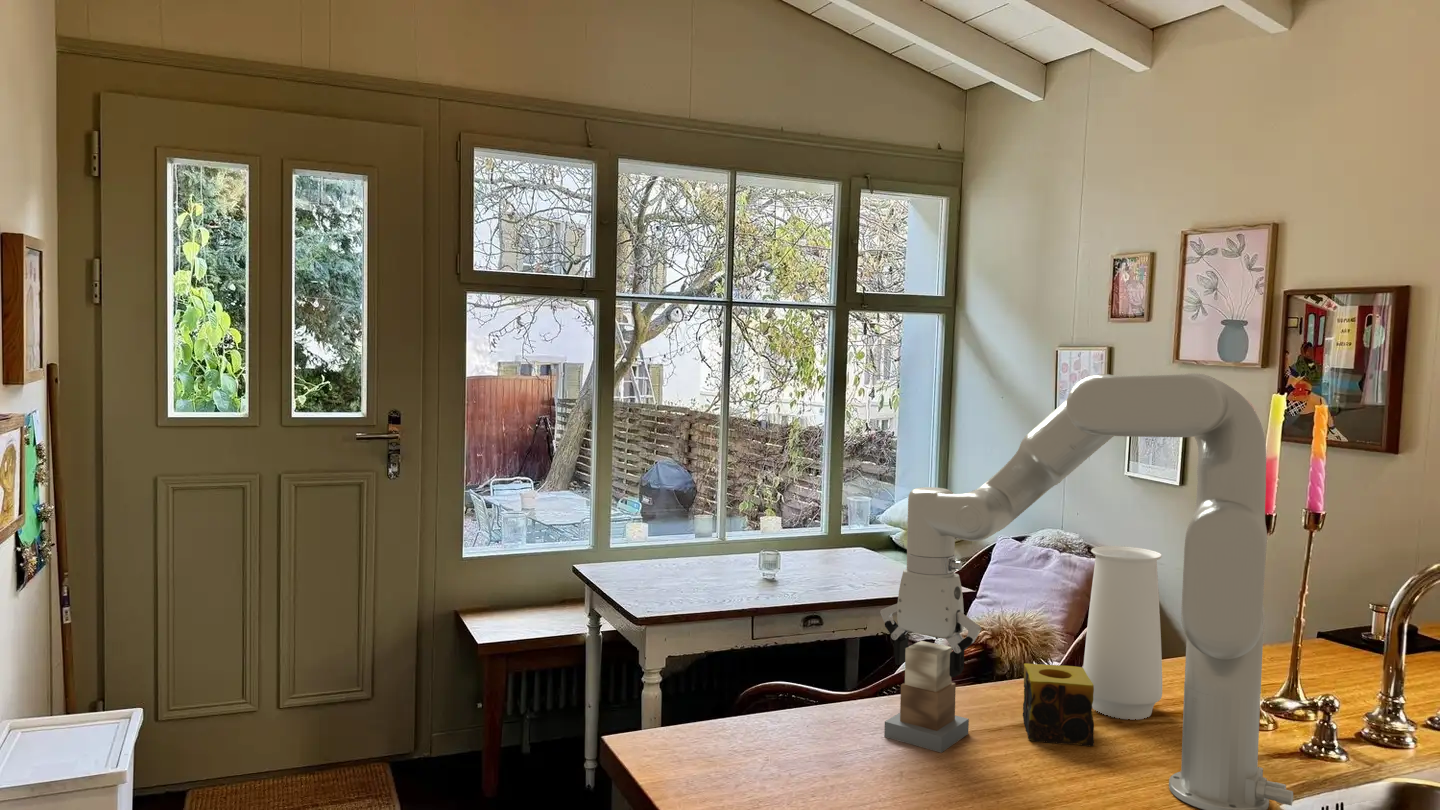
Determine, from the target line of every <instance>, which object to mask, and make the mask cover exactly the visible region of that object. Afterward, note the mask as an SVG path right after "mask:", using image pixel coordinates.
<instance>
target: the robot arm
mask: <svg viewBox="0 0 1440 810" xmlns="http://www.w3.org/2000/svg"><path fill="white" fill-rule="evenodd" d="M1067 395H1068V396H1067V397H1066V399H1065V400H1064V401H1063V402H1062V403H1061V404H1060V405H1059V406H1058V407H1056V409H1053V410H1052V412H1050V414H1049V415H1047V416H1046V417H1045V418H1044V419H1043V420H1041V421H1040V422H1039V423H1038V424H1037V425H1036V426H1035V427H1034V428H1033V429H1031V430H1030V431H1029V432H1028V433H1026V435H1025V436H1024V437H1023V439H1022V440H1021V441H1020V445H1019V446H1018V449H1017V451H1016V452H1015V454H1014V455H1013V456H1012V458H1011V459H1009V461H1008V462H1006V464H1004V466H1002V467H1001V468H1000V469H999V470H998V471H997V472H996V473H994V475H992V476H991V477H990V478H989V479H988V480H987V481H986V482H984V483H982V485H981V486H979V487H978V488H976V489H974V490H970V491H969V492H964V493H954V492H953V491H952V490H950V489H948V488H943V487H934V486H932V487H931V486H929V487H928V486H927V487H925V486H924V487H916V488H914V489H912V490H911V491H910V492H909V494H908V498H907V499H908V500H907V532H906V533H907V537H906V538H907V539H906V545H907V546H906V568H905V569H903V572H902V575H901V578H900V582H899V583H900V584H899V590H898V596H897V603H895V604H892V605H890V606H887V607H884V608H882V609H880V611H879V613H880V615H881V618H882V621H883V622H884V627H885V628H886V630H887V631H888V632H889V635H890V638H891V639H892V640H893V657H894V658H895V659H894V664H895V665H899V666H900V665H901V664H902V665H903V663H904V664H905V651H906V648H907V647H909V639H908V636H906V635H907V634H908V633H913V634H918V635H921V636H928V637H932V638H937V639H943V640H944V639H945V640H946V641H947V643H948V644H949V647H952V652H951V653H950V674H949V675H950V676H951V678H956V677H958V676H959V675H961V674H962V672H963V671H964V669H965V650H967V649H968V647H970V646H972V645H973V644H974V643H975V641H976V640H977V638H978V637H979V635H980V632H981V631H982V627H981V626H980V625H979V624H978V623H976V622H975V621H974V620H972V619H971V618H970V617H969V616H967V615H966V614H964V613H965V611H964V598H963V589H962V583H961V578H960V575H959V573H955V572H956V571H960V570H962V568H963V563H962V561H958V560H957V559H956V555H955V552H956V550H955V547H956V544H955V543H956V538H957V539H960V540H964V541H969V542H980V541H983V540H986V539H988V538H990V537H991V536H993V535H995V534H996V533H998V532H1000V531H1002V530H1004V529H1005V528H1006V527H1008V526H1009V525H1010V524H1011V523H1012V522H1014V520H1016V519H1017V518H1019V516H1020V515H1022V514H1023V513H1024V512H1025V511H1027V510H1028V508H1030V507H1031V506H1032V505H1033V504H1035V503H1036V502H1037V501H1038V500H1039V499H1040V498H1041V497H1042V496H1043V495H1045V494H1046V493H1047V492H1048V491H1049V490H1051V489H1052V488H1054V487H1055V486H1056V485H1057V486H1058V484H1060V483H1061V482H1062V481H1064V479H1065V478H1067V477H1068V476H1069V475H1070V474H1071V473H1073V472H1074V471H1075V470H1076V469H1077V468H1078V467H1080V465H1082V464H1083V463H1084V462H1085V461H1086V460H1087V459H1089V458H1090V457H1091V456H1092V455H1093V454H1095V453H1096V451H1098V450H1100V448H1101V447H1102V446H1104V445H1105V444H1107V442H1109V441H1110V440H1112V439H1113V438H1114V437H1126V438H1127V437H1128V438H1129V437H1131V438H1132V437H1134V438H1135V437H1137V438H1139V437H1140V438H1141V437H1144V438H1145V437H1146V438H1150V437H1152V438H1153V437H1154V438H1157V437H1158V438H1192V437H1194V440H1196V444H1197V453H1198V454H1197V467H1196V469H1197V470H1196V476H1197V481H1196V482H1197V484H1196V496H1195V497H1196V499H1195V509H1194V514H1193V516H1192V518H1191V520H1190V522H1189V523H1188V526H1187V529H1186V533H1185V538H1184V539H1185V540H1184V548H1183V550H1184V551H1183V569H1182V592H1181V593H1182V594H1181V613H1180V616H1181V617H1180V618H1181V620H1180V621H1181V626H1182V630H1183V632H1184V634H1185V637H1186V643H1185V644H1186V645H1185V647H1186V648H1185V666H1184V682H1183V683H1184V685H1183V709H1182V710H1183V712H1182V714H1183V717H1182V740H1181V743H1182V744H1181V767H1180V769H1181V770H1180V771H1178V772H1175V773H1174V774H1172V775H1171V776H1169V779H1168V788H1169V791H1170V792H1171V794H1173V795H1174V797H1176V798H1177V799H1178V800H1180V801H1182V802H1184V803H1186V804H1188V805H1190V806H1192V807H1195V808H1198V809H1200V810H1268V809H1269V807H1270V801H1274V802H1276V803H1279V804H1282V805H1286V806H1290V807H1291V806H1293V803H1294V801H1293V800H1294V791H1293V790H1289V789H1287V785H1286V784H1284V783H1280V782H1276V781H1275V782H1274V781H1271V780H1268V778H1267V777H1264V768H1263V767H1260V766H1258V765H1259V764H1258V763H1259V762H1258V760H1259V741H1260V740H1259V738H1260V737H1259V736H1260V711H1261V694H1262V673H1263V671H1262V669H1263V649H1264V648H1263V646H1264V631H1265V628H1264V627H1265V606H1264V595H1265V576H1266V559H1267V557H1266V556H1267V543H1268V530H1267V525H1266V524H1267V523H1266V492H1267V491H1266V490H1267V480H1266V479H1267V446H1266V437H1265V433H1264V427H1263V426H1262V423H1261V421H1260V418H1259V416H1258V415H1257V412H1256V411H1255V409H1254V408H1253V406H1252V405H1251V403H1250V402H1249V401H1248V400H1247V399H1246V398H1245V396H1243V395H1242V394H1241V393H1240V392H1238V391H1237V390H1236V389H1234V388H1233V387H1231V386H1230V385H1228V384H1226V383H1225V382H1223V381H1222V380H1220V379H1216V378H1215V377H1212V376H1209V375H1206V374H1204V373H1197V372H1196V373H1195V372H1192V373H1185V374H1184V373H1183V374H1182V373H1181V374H1155V375H1153V374H1150V375H1148V374H1146V375H1113V374H1109V373H1103V374H1102V373H1101V374H1091V375H1089V376H1086V377H1084V378H1081V379H1080V380H1079V381H1077V382H1076V383H1075V384H1074V385H1073V386H1072V387H1071V389H1070V391H1069V393H1068V394H1067ZM894 613H896V621H895V620H894V618H893V617H894V616H893V614H894ZM964 628H965V629H966V630H967V635H966V636H965V637H963V636H962V634H961V633H963V632H964V630H965V629H964Z"/></svg>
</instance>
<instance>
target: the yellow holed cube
mask: <svg viewBox="0 0 1440 810" xmlns="http://www.w3.org/2000/svg"><path fill="white" fill-rule="evenodd" d="M1093 693H1094V685H1093V683H1092V682H1091V680H1090V679H1089V677H1088V676H1087V674H1086V672H1085V670H1084V668H1083V666H1082V667H1081V666H1074V665H1062V664H1061V665H1059V664H1058V665H1057V664H1044V663H1043V664H1042V663H1041V664H1040V663H1028V662H1027V663H1023V703H1022V711H1023V712H1022V718H1023V725H1024V728H1025V731H1026V734H1027V739H1028V740H1029V741H1033V742H1037V743H1038V742H1039V743H1047V744H1049V743H1050V744H1061V745H1062V744H1063V745H1069V744H1070V745H1071V744H1072V745H1078V746H1086V747H1093V746H1094V745H1095V744H1094V741H1095V740H1094V734H1095V733H1094V732H1095V731H1094V730H1095V723H1094V722H1095V720H1094V717H1093V716H1094V715H1093V708H1092V703H1093Z"/></svg>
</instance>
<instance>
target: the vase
mask: <svg viewBox="0 0 1440 810" xmlns="http://www.w3.org/2000/svg"><path fill="white" fill-rule="evenodd" d="M1090 552H1091V553H1092V554H1093V555H1095V558H1094V566H1093V575H1092V584H1091V591H1090V601H1089V609H1088V618H1087V627H1086V636H1085V647H1084V655H1083V666H1082V667H1083V668H1084V670H1085V672H1086V674H1087V676H1088V677H1089V679H1090V680H1091V682H1092V683H1093V685H1094V693H1093V703H1092V710H1094V711H1095V710H1096V711H1095V712H1097V711H1098V712H1097V713H1099V712H1100V713H1099V714H1101V713H1102V714H1101V715H1103V714H1104V716H1106V715H1108V716H1107V717H1110V716H1111V717H1110V718H1114V717H1115V719H1119V718H1120V720H1128V719H1130V720H1133V721H1134V720H1135V719H1136V720H1137V721H1138V720H1144V718H1145V719H1147V717H1148V718H1149V717H1151V716H1152V713H1153V708H1154V706H1155V704H1156V703H1158V702H1159V701H1161V699H1162V698H1163V697H1162V696H1163V660H1162V658H1163V657H1162V655H1163V654H1162V637H1161V636H1162V634H1161V633H1162V632H1161V630H1162V629H1161V616H1160V615H1161V614H1160V612H1161V611H1160V596H1159V593H1160V592H1159V579H1158V577H1159V576H1158V562H1157V561H1158V560H1160V559H1162V557H1163V556H1162V553H1160V552H1158V551H1155V550H1152V549H1147V548H1144V547H1143V548H1141V547H1136V546H1125V545H1124V546H1123V545H1101V546H1095V547H1093V548H1091V549H1090Z"/></svg>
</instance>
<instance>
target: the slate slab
mask: <svg viewBox="0 0 1440 810" xmlns="http://www.w3.org/2000/svg"><path fill="white" fill-rule="evenodd" d="M969 723H970V719H969V718H967V717H963V716H959V715H956V714H955V720H953V721H952V722H950V723H949V724H947V725H945V726H944V727H942V728H941V729H939V730H938V731H935V730H931V729H927V728H924V727H920V726H916V725H912V724H909V723H905V722H901V721H900V712H899V713H897V714H895V715H894V716H891V717H889V718H888V719H887V720H885V721H884V731H883V732H884V734H883V736H884V737H883V738H888V739H891V740H894V741H899V742H903V743H906V744H909V745H912V746H915V747H916V746H917V747H920V748H924V749H927V750H931V751H934V752H938V753H941V754H942V753H943V752H945V751H946V750H947V749H949V748H950V747H952V746H953V745H955V744H956V743H957V742H959V741H961V739H963V738H964V737H966V736H967V735H969V725H970V724H969Z"/></svg>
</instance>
